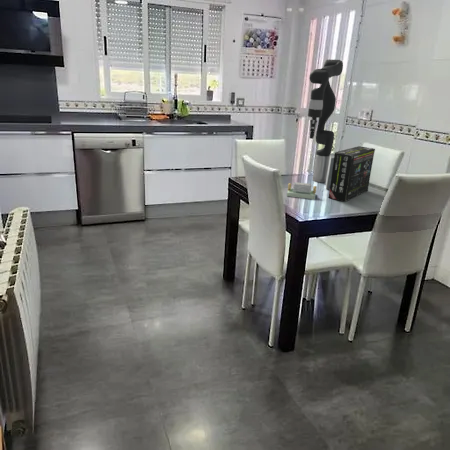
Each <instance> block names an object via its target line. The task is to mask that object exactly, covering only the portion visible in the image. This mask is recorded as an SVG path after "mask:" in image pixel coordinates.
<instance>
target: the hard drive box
mask: <svg viewBox="0 0 450 450" xmlns="http://www.w3.org/2000/svg"><path fill="white" fill-rule="evenodd" d="M334 155H335V153H331V154H330V158H329V164H328V171H327V177H326V182H325V190H330V183H331V176H332V169H333V162H334Z"/></svg>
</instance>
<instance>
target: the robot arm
mask: <svg viewBox="0 0 450 450" xmlns="http://www.w3.org/2000/svg"><path fill="white" fill-rule="evenodd" d="M343 69H344V62H343V61H342V60H340V59H325V61H324V62H323V66H322V67H321V68H317V69H313V70H311V72H310V74H309V81H310V83H312V84H317V85H320V86H319V87H316V88H312V89H311V91H310V99H309V103H308V104H309V105H308V109H307V110H308V112H307V116H308V117H309V118H311V119H310V121H309V139H314V137H315V143H316V144H318V145H323V146H324V147H323V148H320V149H317V150H316V151H315V152H316V153H315V159H314V166H313V174H312V181H313V182H317V183H326V177H327V171H328V164H329V158H330V154H332V150H333V145H334V141H335V133H334V131H332V130H327V129H325V127H326V124H327V121H328V120H329V118H330V117H331V116H332V115H333V113H334V111H335V108H336V103H337V101H336V100H337V99H336V95H335V93H334V90H333V88H332V86H331V84H330V78H333V77H338V76H341V74H342V73H343ZM317 118H318V119H317ZM315 132H316V133H315Z"/></svg>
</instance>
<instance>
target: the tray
mask: <svg viewBox="0 0 450 450" xmlns="http://www.w3.org/2000/svg"><path fill="white" fill-rule="evenodd" d="M316 194H317V186H316V185H314V186H313V188H312V190H311V193H310V194H301V193H293V187H292V183H290V182H289V183H288V184H287V192H286V197H293V198H298V199H299V198H302V199H308V200H316Z"/></svg>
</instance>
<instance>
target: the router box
mask: <svg viewBox="0 0 450 450" xmlns="http://www.w3.org/2000/svg"><path fill="white" fill-rule="evenodd" d="M375 151H376V148H372V147H366V146H359V145H358V146H355V147H351V148H347V149H344V150H338V151H335V152H334V154H335V155H334V162H333V169H332V176H331V183H330V189H328V191H329V192H328V198H330V199H331V200H332V199H333V200H336V201H342V202H344V203H345V202H348V201H350V200H351V199H354V198H356V197H358V196H360V195H362V194H364V193H366V192H368V191H369V185H370V179H371V173H372V167H373V162H374V161H373V160H374V157H375V156H374V155H375Z"/></svg>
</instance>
